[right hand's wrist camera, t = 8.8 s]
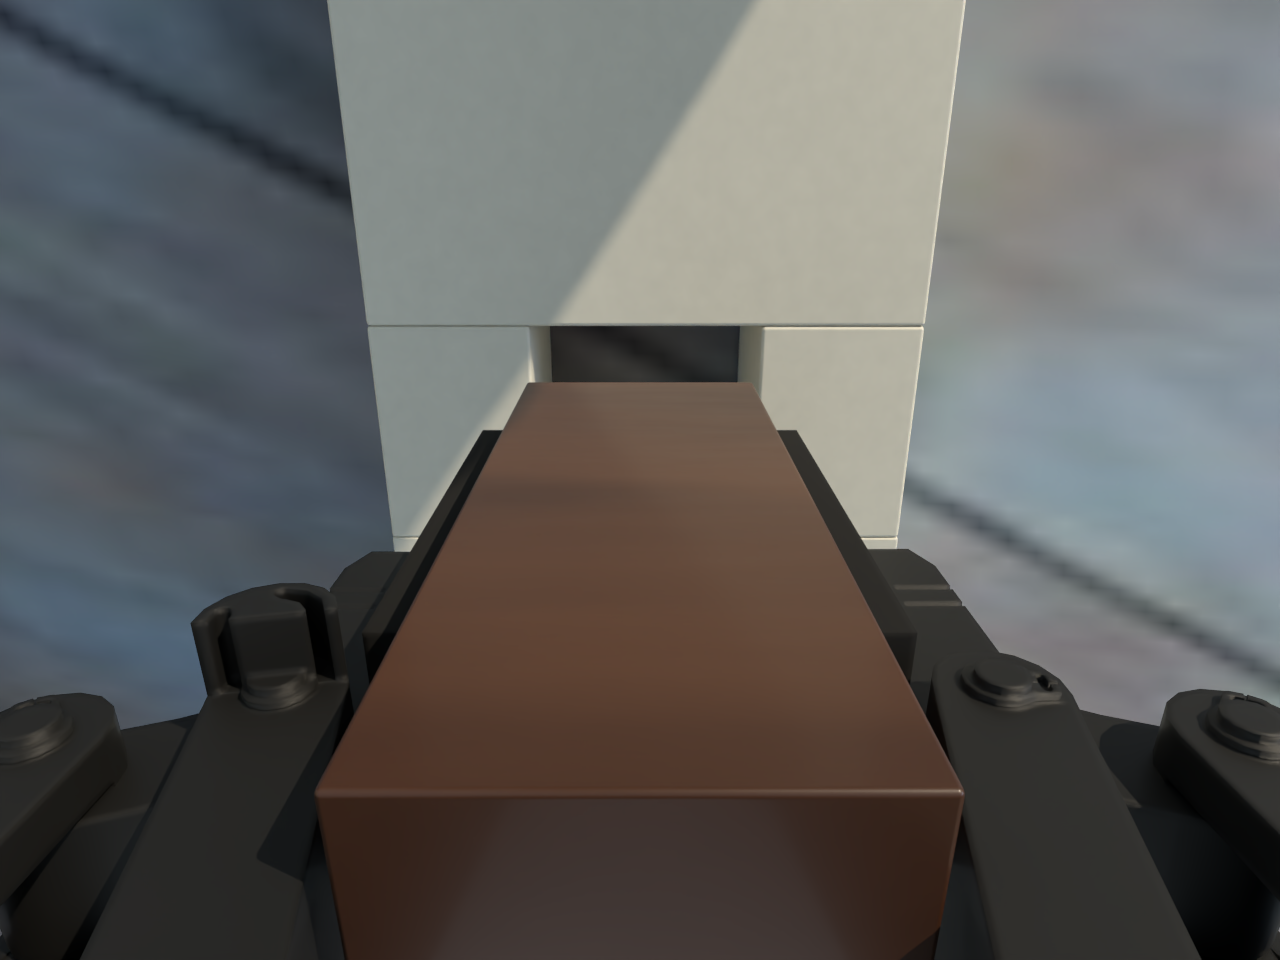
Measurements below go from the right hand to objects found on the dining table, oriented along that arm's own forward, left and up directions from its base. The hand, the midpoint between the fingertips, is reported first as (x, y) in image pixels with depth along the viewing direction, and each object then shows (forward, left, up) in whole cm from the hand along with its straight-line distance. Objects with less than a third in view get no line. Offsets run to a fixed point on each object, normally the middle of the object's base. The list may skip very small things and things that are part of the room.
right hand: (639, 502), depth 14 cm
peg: (0, 0, -1) cm, 1 cm away
